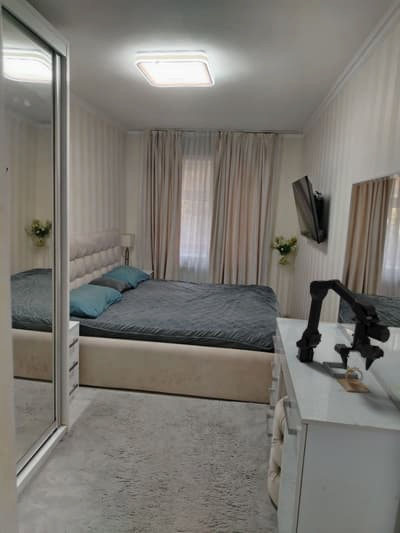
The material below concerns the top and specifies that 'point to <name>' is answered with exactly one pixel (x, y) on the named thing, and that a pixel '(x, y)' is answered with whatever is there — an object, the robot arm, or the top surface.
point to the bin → (339, 375)
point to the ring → (352, 371)
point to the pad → (353, 386)
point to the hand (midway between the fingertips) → (355, 369)
